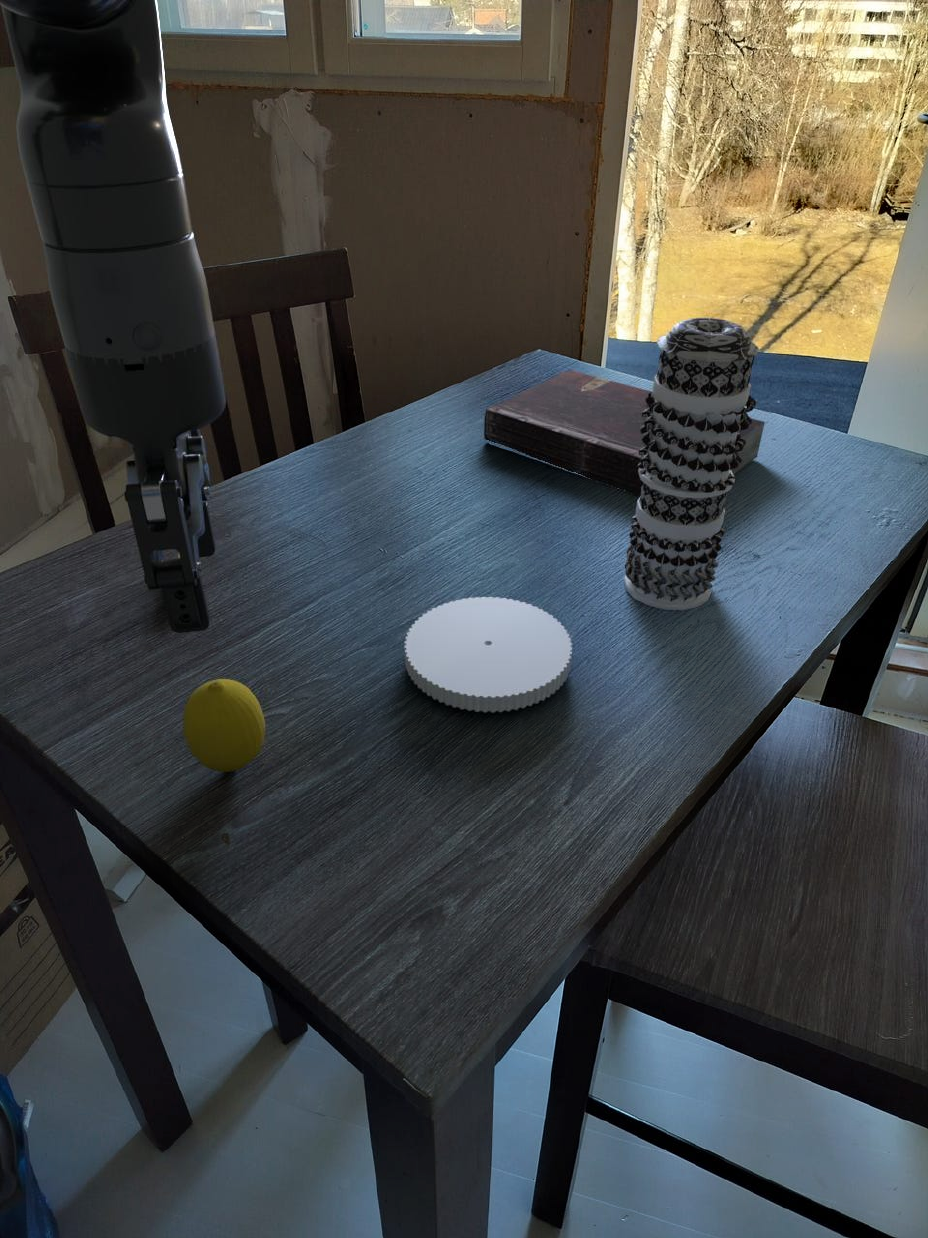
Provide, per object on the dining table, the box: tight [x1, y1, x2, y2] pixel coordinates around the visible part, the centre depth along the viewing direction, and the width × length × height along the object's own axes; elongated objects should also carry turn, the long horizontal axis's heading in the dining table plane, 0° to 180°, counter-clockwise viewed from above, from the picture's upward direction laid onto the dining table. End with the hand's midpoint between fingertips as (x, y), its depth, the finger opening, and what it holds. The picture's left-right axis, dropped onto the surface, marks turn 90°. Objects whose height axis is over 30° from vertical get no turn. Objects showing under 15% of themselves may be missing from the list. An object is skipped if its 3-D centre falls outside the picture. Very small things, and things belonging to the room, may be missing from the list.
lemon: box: [183, 678, 266, 773], centre depth 60 cm, size 6×6×8 cm
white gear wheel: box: [403, 596, 573, 713], centre depth 72 cm, size 14×14×2 cm
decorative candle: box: [623, 317, 760, 611], centre depth 76 cm, size 9×9×25 cm
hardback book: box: [483, 369, 766, 497], centre depth 107 cm, size 29×19×5 cm, turn 50°
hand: (195, 589), depth 54 cm, fingers open, 8 cm apart
